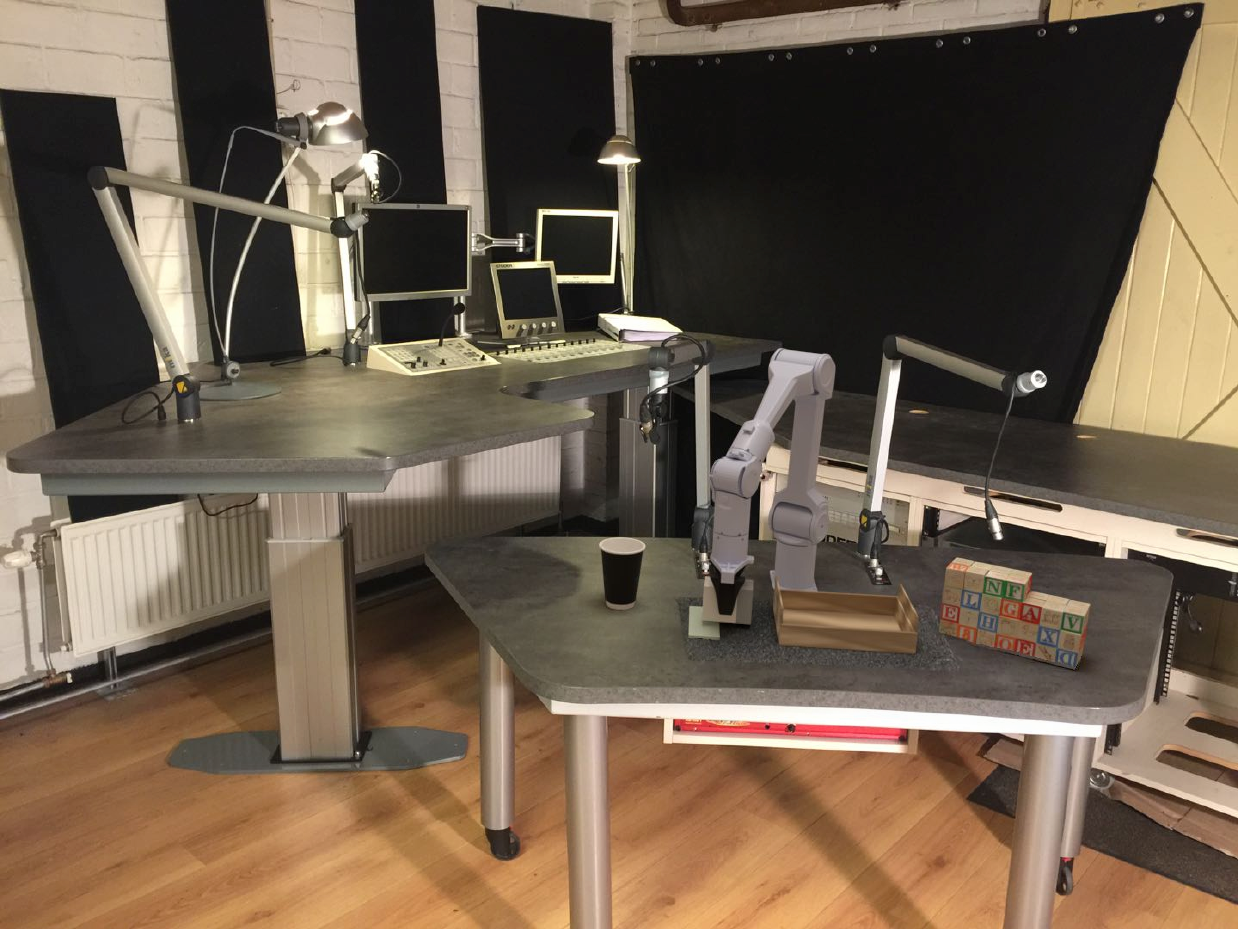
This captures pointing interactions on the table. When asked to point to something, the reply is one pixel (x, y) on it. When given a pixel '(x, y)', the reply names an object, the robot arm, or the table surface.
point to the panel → (702, 625)
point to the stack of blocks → (1011, 613)
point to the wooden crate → (845, 620)
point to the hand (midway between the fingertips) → (726, 608)
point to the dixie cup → (621, 570)
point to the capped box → (741, 608)
